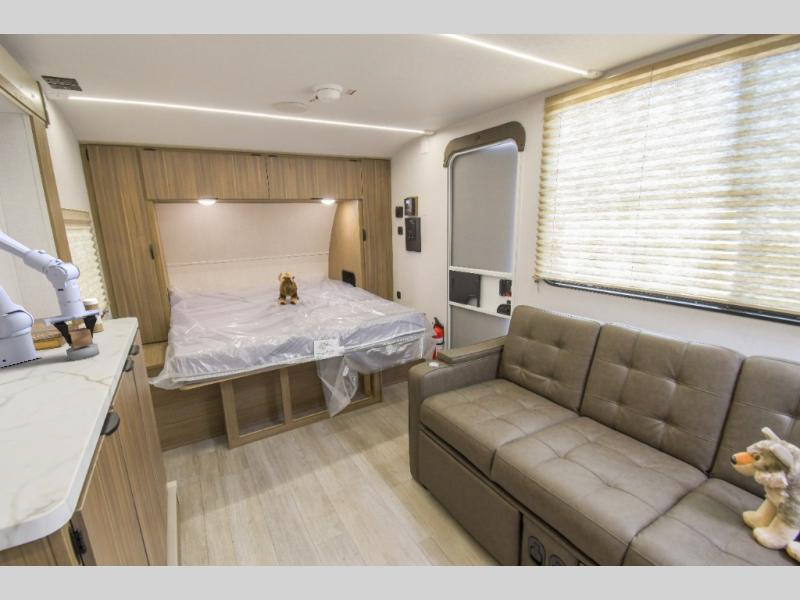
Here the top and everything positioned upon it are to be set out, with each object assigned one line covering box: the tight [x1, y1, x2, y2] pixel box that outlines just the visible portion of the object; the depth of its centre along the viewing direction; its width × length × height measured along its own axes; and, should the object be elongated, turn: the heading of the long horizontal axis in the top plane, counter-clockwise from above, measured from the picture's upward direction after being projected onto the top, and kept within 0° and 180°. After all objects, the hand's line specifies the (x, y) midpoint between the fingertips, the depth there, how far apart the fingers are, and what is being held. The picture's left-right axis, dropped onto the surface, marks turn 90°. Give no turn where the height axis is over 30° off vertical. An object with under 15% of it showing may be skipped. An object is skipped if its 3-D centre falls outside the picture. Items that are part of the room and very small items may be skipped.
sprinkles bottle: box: [82, 297, 104, 334], centre depth 147 cm, size 5×5×14 cm
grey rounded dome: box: [65, 342, 100, 361], centre depth 122 cm, size 8×8×3 cm
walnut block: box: [68, 326, 94, 349], centre depth 120 cm, size 5×5×5 cm
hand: (80, 340), depth 121 cm, fingers closed on walnut block, 5 cm apart
